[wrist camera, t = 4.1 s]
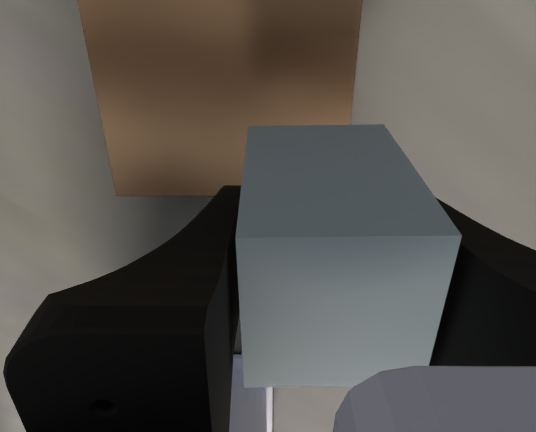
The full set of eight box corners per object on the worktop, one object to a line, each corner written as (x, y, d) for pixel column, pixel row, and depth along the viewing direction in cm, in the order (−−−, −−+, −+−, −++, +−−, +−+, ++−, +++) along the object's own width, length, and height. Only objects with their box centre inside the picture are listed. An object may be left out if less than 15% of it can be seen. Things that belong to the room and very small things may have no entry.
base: (336, 175, 21) (343, 195, 19) (128, 176, 21) (116, 196, 19) (358, -73, 16) (369, -77, 14) (83, -73, 16) (61, -77, 14)
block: (369, 237, 15) (423, 386, 10) (252, 239, 15) (244, 387, 10) (383, 124, 13) (461, 235, 8) (248, 125, 13) (235, 237, 8)
